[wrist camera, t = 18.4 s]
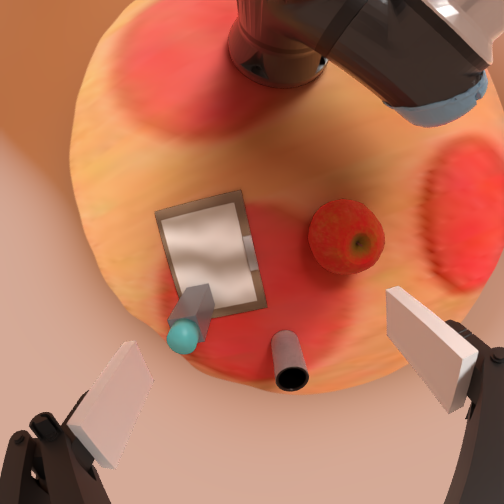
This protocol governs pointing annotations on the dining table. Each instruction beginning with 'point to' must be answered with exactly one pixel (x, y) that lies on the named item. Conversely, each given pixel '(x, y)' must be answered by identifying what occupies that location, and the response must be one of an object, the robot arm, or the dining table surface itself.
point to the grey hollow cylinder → (288, 361)
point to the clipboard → (213, 251)
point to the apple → (345, 237)
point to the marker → (190, 319)
